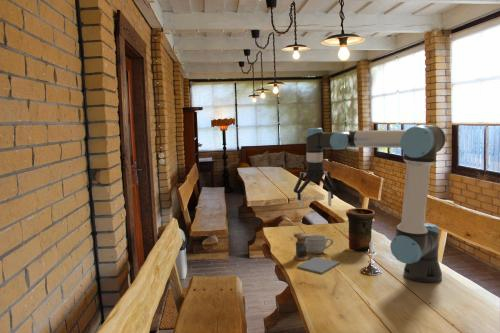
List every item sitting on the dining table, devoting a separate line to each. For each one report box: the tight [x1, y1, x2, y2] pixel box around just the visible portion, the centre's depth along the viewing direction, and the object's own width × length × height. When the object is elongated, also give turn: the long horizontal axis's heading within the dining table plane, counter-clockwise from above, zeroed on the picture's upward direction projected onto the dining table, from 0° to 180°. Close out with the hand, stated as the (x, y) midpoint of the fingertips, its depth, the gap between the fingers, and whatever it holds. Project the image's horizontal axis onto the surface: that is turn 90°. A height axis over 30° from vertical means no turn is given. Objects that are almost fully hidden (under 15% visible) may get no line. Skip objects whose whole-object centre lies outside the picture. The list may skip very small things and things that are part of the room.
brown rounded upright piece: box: [293, 232, 310, 262], centre depth 207 cm, size 7×7×12 cm
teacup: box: [305, 234, 334, 255], centre depth 216 cm, size 14×11×8 cm
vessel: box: [345, 207, 376, 253], centre depth 220 cm, size 14×14×20 cm
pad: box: [296, 256, 340, 275], centre depth 197 cm, size 13×16×1 cm
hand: (315, 206), depth 200 cm, fingers open, 13 cm apart
